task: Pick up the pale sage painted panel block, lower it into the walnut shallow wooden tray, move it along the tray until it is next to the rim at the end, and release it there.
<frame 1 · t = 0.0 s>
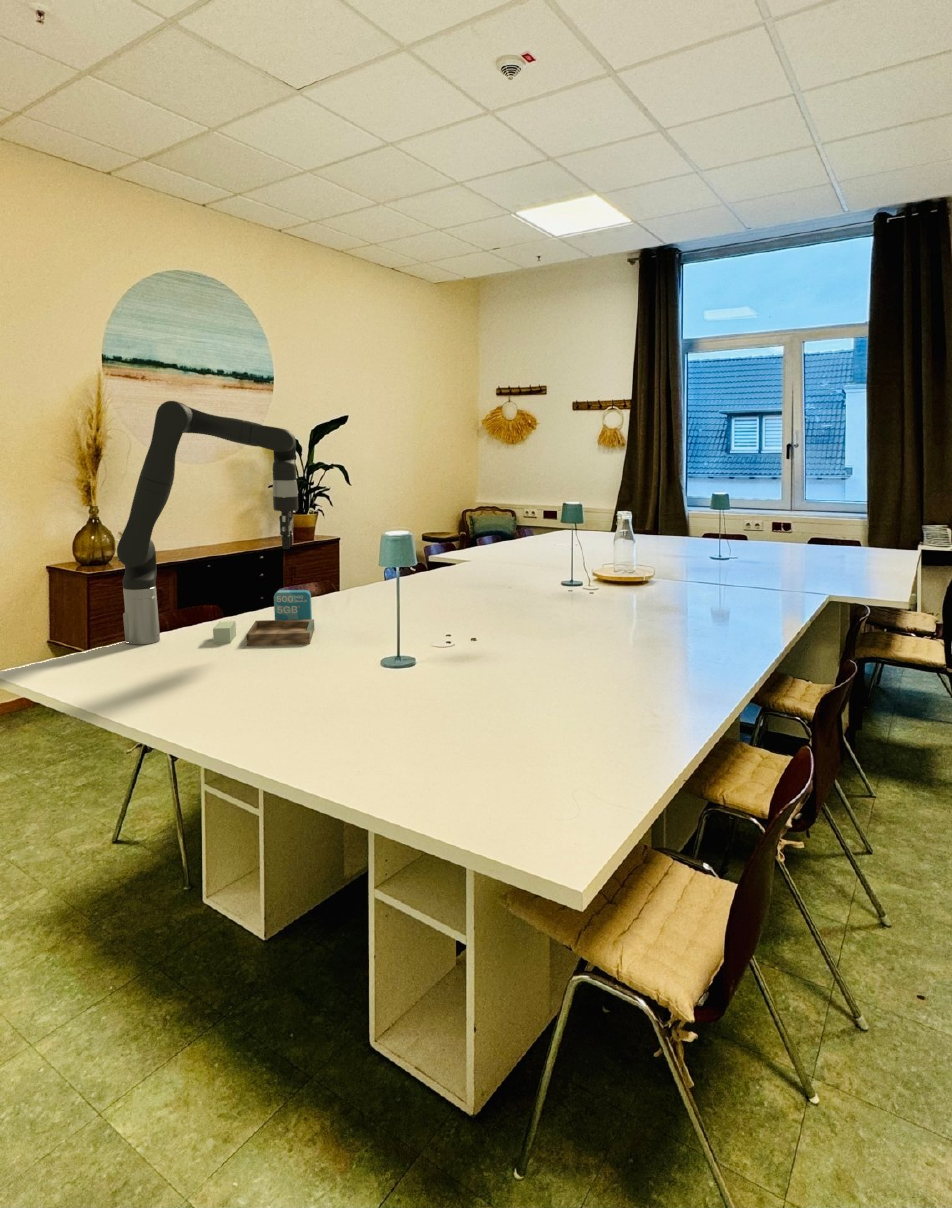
hand: (287, 547, 228), 29 cm above the table, fingers open, 8 cm apart
data package: (293, 625, 251), on the table
shallow wooden tray: (282, 637, 234), on the table
panel block: (225, 640, 231), on the table
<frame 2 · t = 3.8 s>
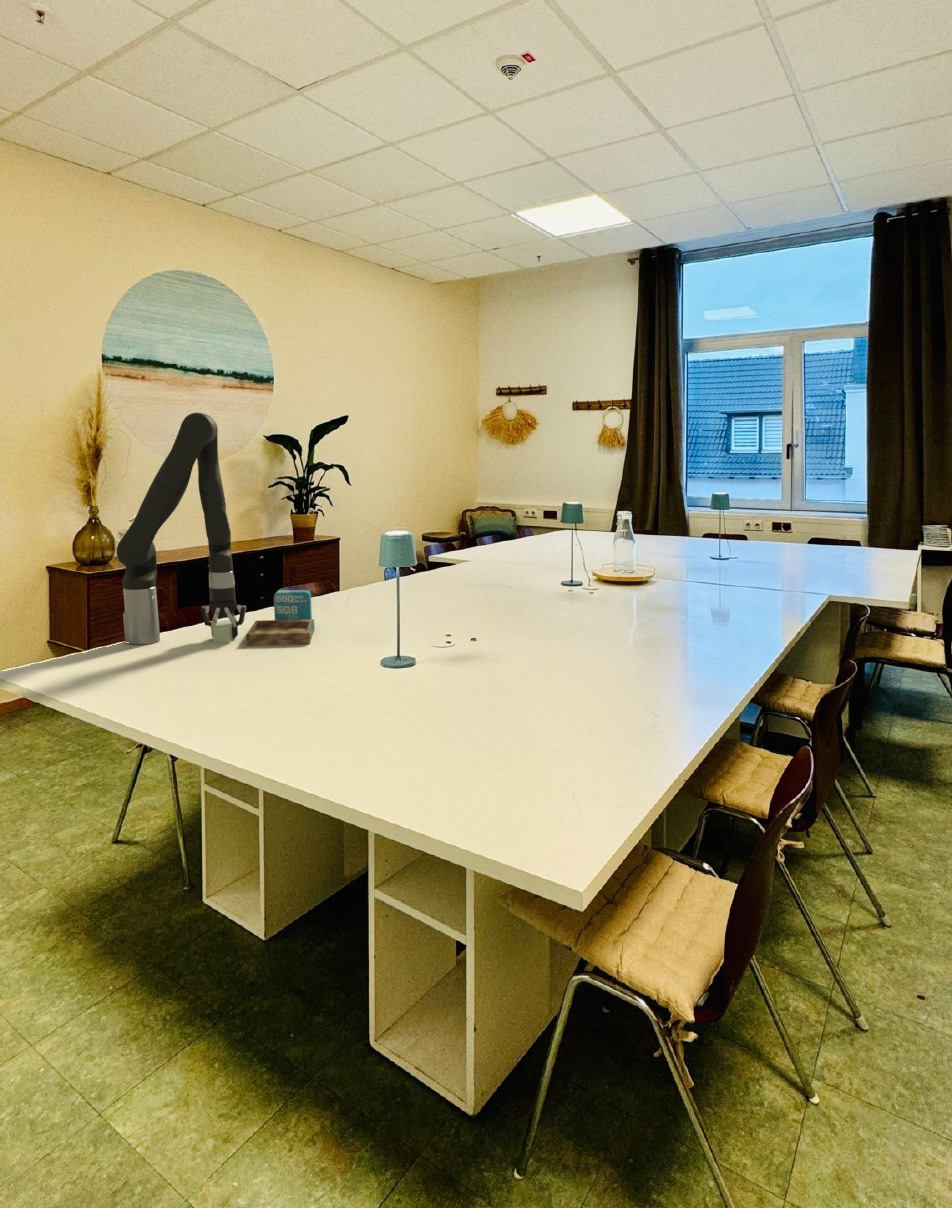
hand: (225, 637, 231), 0 cm above the table, fingers closed on panel block, 5 cm apart
panel block: (225, 639, 231), on the table, touching gripper
everything else where it was.
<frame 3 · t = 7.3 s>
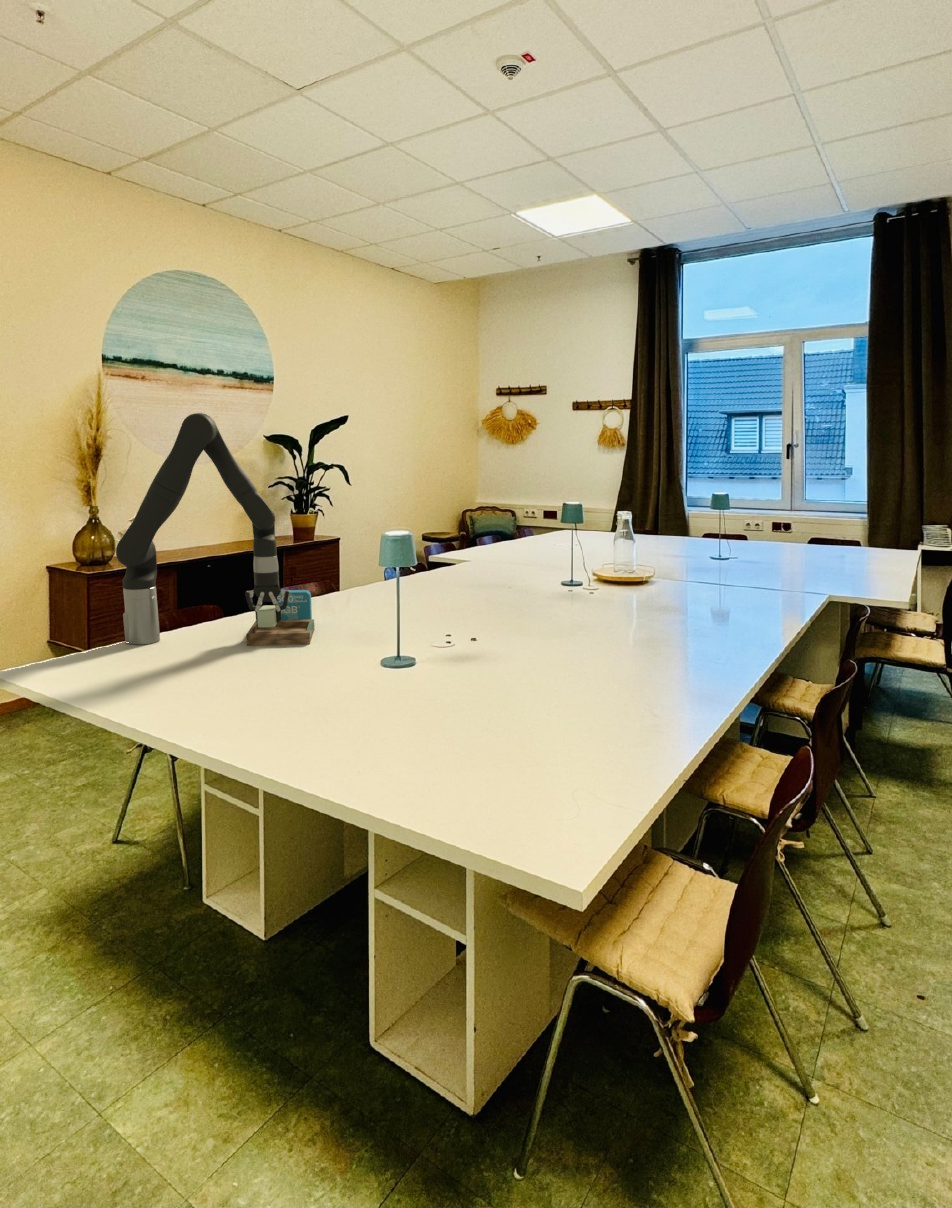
hand: (269, 622, 233), 5 cm above the table, fingers closed on panel block, 5 cm apart
panel block: (268, 623, 233), point 5 cm above the table, touching gripper
everything else where it was.
when the fingers open (4 cm above the table, at t = 10.8 s): panel block drops 2 cm, resting on shallow wooden tray.
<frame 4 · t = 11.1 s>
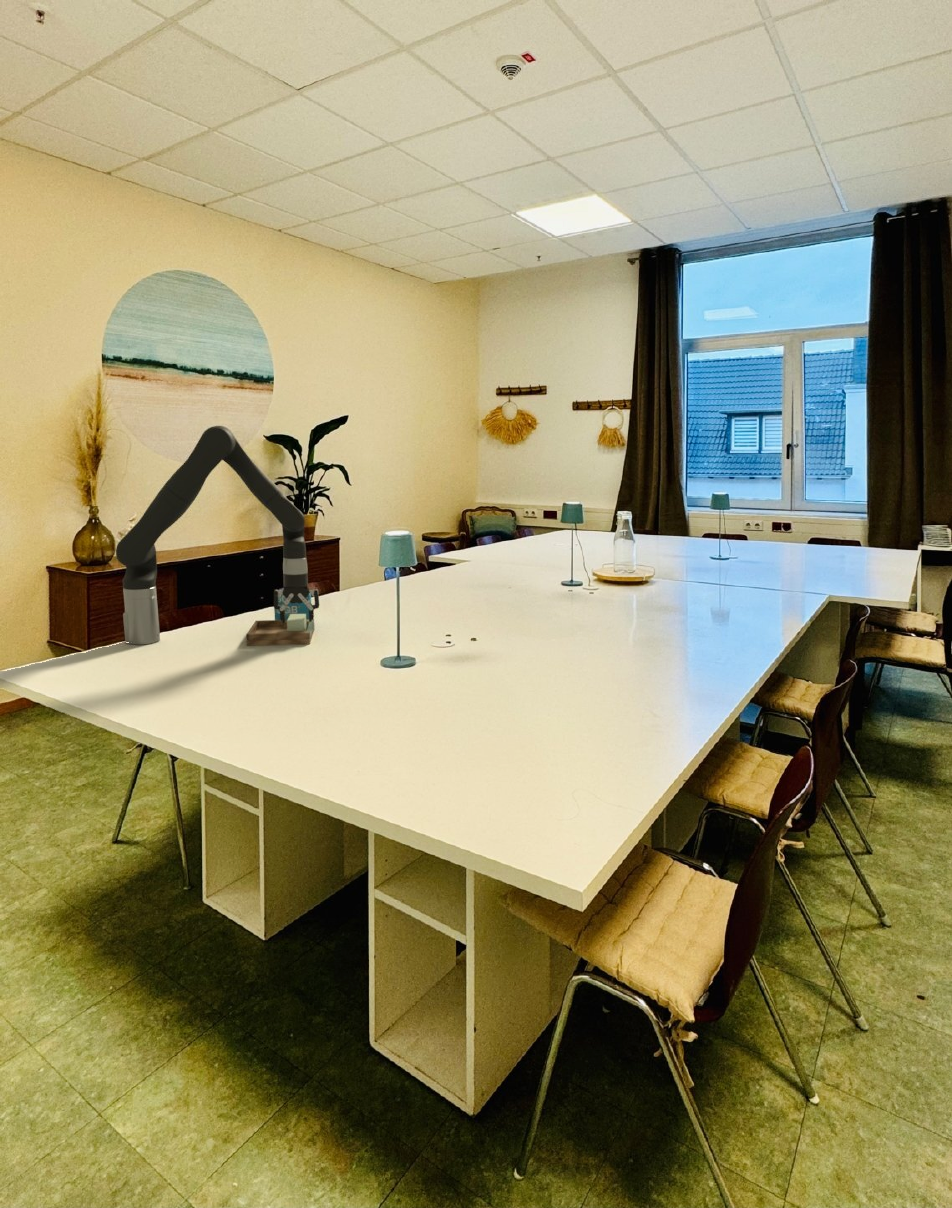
hand: (297, 621, 234), 5 cm above the table, fingers open, 8 cm apart
panel block: (297, 632, 235), point 1 cm above the table, touching shallow wooden tray
everything else where it was.
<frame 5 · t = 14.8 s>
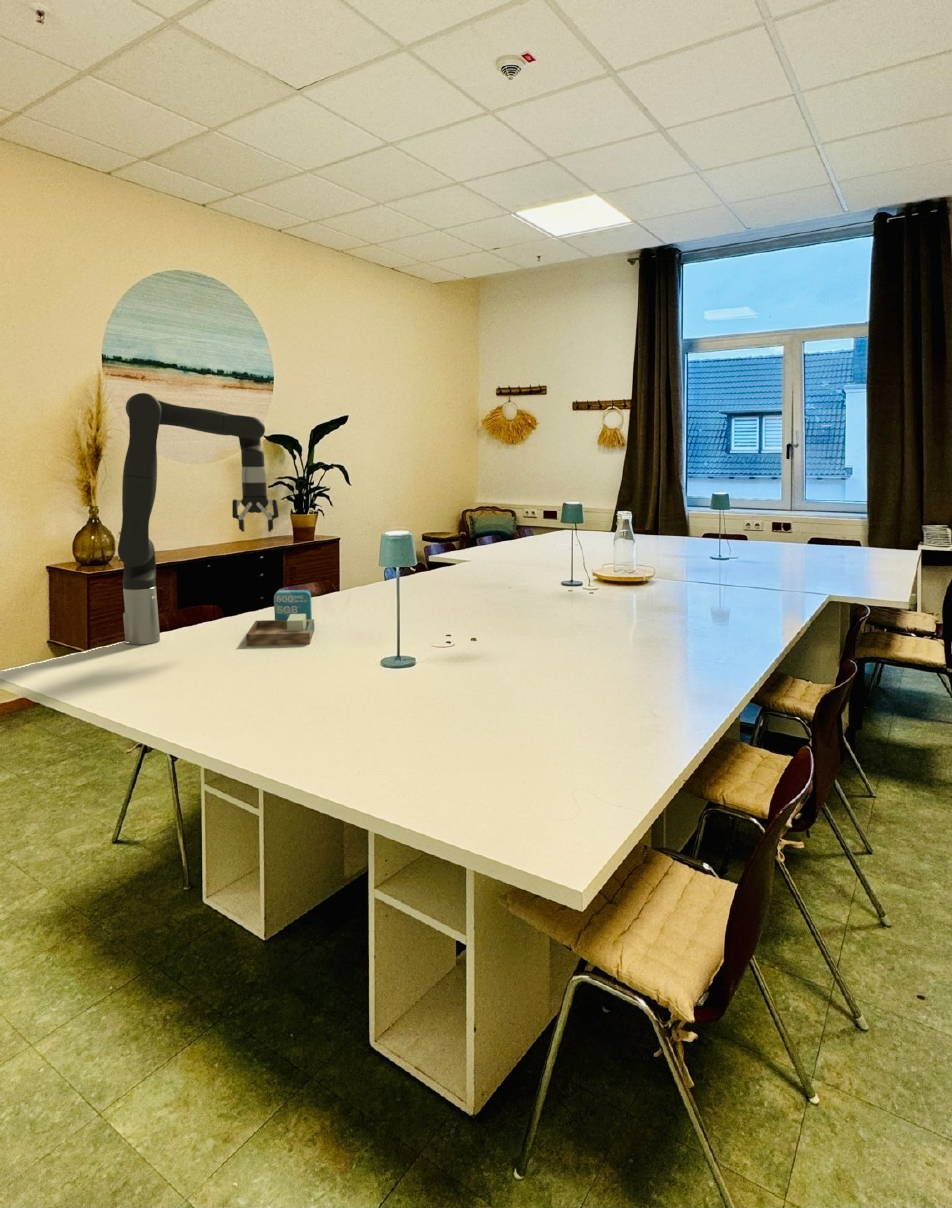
hand: (256, 531, 237), 33 cm above the table, fingers open, 8 cm apart
nothing on the table moved.
at the end: panel block 0.2 cm from the target spot on the shallow wooden tray, point 1.5 cm above the shallow wooden tray's base; panel block tilted 0°; the gripper is holding nothing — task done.
